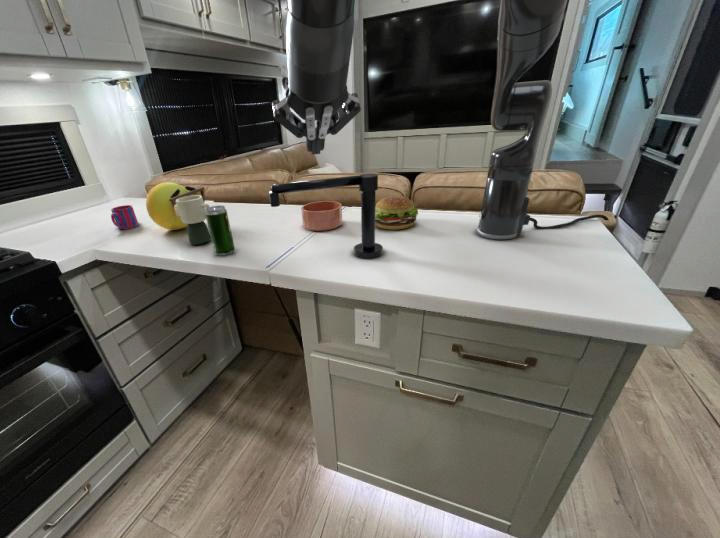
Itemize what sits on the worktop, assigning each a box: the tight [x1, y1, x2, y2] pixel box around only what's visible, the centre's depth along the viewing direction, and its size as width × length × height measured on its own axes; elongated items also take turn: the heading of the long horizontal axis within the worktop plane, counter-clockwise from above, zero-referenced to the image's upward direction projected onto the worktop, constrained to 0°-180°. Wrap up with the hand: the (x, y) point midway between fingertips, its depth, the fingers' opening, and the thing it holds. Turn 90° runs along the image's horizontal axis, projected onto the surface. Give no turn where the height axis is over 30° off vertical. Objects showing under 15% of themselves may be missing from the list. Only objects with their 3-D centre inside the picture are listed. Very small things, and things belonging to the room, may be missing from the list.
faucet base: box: [353, 191, 384, 260], centre depth 77 cm, size 7×7×15 cm
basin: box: [300, 200, 343, 232], centre depth 101 cm, size 12×12×6 cm
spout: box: [268, 173, 379, 208], centre depth 72 cm, size 24×4×4 cm, turn 98°
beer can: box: [205, 204, 236, 257], centre depth 86 cm, size 5×5×12 cm
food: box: [375, 195, 419, 231], centre depth 97 cm, size 14×14×8 cm
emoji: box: [145, 181, 206, 231], centre depth 108 cm, size 16×16×15 cm
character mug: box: [174, 195, 212, 245], centre depth 94 cm, size 11×7×13 cm, turn 79°
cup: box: [110, 204, 140, 230], centre depth 116 cm, size 7×10×7 cm
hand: (315, 149), depth 55 cm, fingers closed
